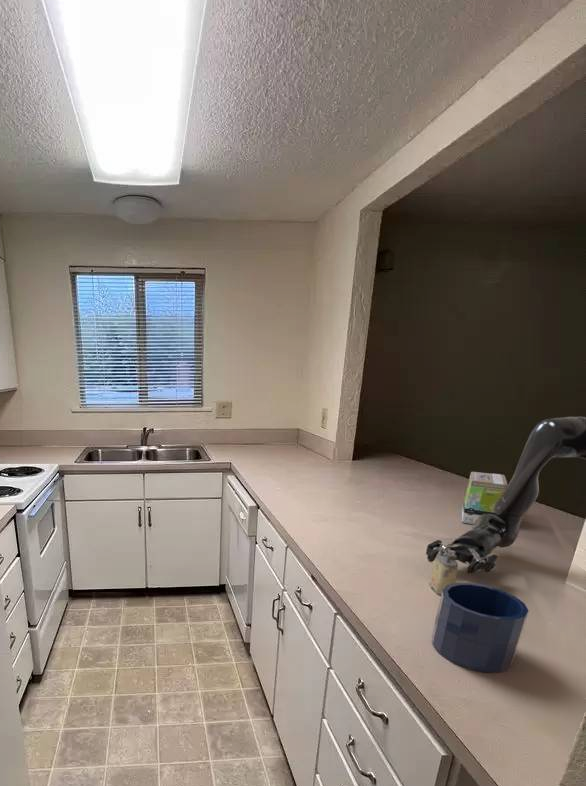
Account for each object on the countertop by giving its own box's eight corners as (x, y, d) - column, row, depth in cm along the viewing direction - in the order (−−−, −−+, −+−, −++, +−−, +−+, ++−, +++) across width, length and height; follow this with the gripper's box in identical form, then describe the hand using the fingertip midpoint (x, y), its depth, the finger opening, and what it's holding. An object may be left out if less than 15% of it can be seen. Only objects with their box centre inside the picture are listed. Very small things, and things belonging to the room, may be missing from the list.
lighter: (454, 597, 100) (463, 558, 96) (436, 596, 101) (445, 557, 97) (442, 582, 107) (450, 545, 103) (425, 581, 107) (433, 544, 104)
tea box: (497, 528, 139) (508, 484, 134) (460, 523, 144) (470, 480, 139) (495, 514, 151) (505, 473, 146) (461, 510, 156) (470, 470, 151)
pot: (463, 625, 90) (474, 577, 86) (528, 662, 78) (545, 609, 75) (416, 639, 85) (426, 590, 82) (478, 680, 74) (494, 626, 70)
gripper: (447, 525, 116) (420, 540, 107) (510, 540, 106) (487, 559, 96) (441, 550, 119) (415, 568, 109) (502, 567, 109) (479, 588, 99)
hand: (449, 563), depth 103 cm, fingers open, 8 cm apart
